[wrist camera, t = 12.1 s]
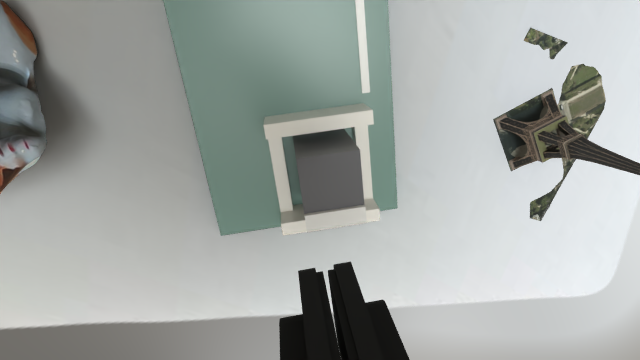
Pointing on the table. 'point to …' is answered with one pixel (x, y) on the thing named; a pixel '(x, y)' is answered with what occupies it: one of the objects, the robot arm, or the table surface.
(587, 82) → the eiffel tower figurine
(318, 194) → the plug
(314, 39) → the board
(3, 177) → the lucky cat figurine
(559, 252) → the table surface
